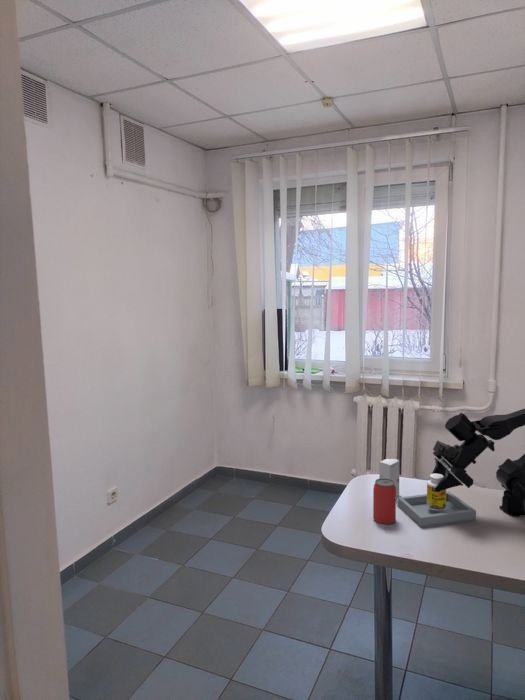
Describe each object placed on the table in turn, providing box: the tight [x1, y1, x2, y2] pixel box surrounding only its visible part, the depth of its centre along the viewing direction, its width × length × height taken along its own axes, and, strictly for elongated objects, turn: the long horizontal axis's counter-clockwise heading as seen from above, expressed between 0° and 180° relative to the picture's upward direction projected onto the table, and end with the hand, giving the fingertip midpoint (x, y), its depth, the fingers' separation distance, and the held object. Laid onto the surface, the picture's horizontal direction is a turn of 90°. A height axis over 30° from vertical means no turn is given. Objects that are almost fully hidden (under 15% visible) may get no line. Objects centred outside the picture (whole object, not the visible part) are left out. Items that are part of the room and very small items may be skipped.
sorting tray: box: [397, 491, 477, 529], centre depth 149 cm, size 18×14×3 cm
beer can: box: [372, 478, 397, 525], centre depth 145 cm, size 7×7×12 cm
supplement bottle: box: [426, 473, 447, 511], centre depth 149 cm, size 6×6×10 cm
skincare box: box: [378, 457, 400, 498], centre depth 162 cm, size 6×4×12 cm
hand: (432, 486), depth 148 cm, fingers closed on supplement bottle, 5 cm apart
